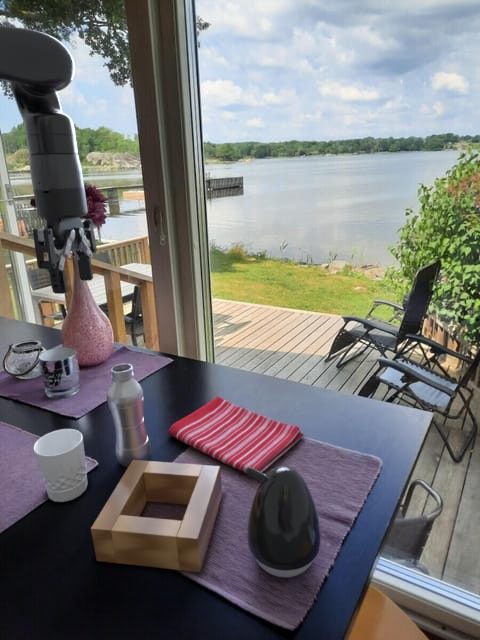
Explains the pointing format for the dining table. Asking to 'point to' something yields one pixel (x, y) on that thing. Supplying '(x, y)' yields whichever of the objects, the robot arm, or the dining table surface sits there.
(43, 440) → the white cup
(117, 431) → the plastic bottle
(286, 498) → the pump dispenser
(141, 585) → the dining table surface
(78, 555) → the dining table surface
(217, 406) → the dish towel
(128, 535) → the holder
